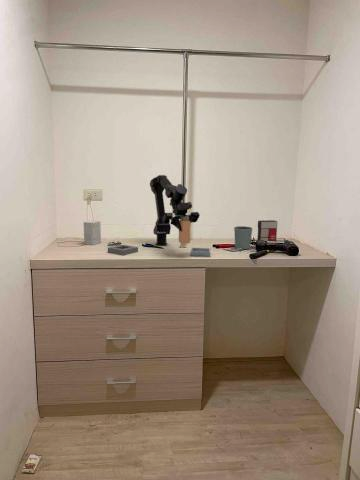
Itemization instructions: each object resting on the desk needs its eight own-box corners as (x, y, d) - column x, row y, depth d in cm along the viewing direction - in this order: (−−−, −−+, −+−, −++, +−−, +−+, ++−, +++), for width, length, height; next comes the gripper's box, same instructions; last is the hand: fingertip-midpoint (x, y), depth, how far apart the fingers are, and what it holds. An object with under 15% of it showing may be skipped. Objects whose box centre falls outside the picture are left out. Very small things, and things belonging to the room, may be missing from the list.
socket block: (122, 250, 204) (122, 244, 203) (138, 253, 197) (138, 247, 197) (107, 254, 195) (107, 247, 194) (123, 257, 188) (123, 250, 188)
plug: (178, 241, 193) (179, 216, 191) (185, 241, 195) (186, 216, 192) (182, 243, 188) (183, 217, 186) (189, 243, 190) (190, 217, 188)
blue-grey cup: (253, 247, 219) (254, 227, 217) (248, 250, 210) (249, 229, 208) (236, 245, 224) (237, 225, 221) (230, 248, 215) (231, 227, 213)
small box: (92, 242, 226) (91, 220, 224) (101, 243, 224) (100, 221, 222) (83, 244, 219) (83, 221, 217) (92, 245, 217) (92, 222, 214)
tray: (191, 252, 204) (191, 247, 203) (210, 252, 203) (210, 248, 202) (190, 256, 194) (190, 251, 193) (210, 257, 193) (210, 252, 193)
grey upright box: (259, 246, 222) (261, 221, 219) (256, 245, 226) (257, 220, 223) (276, 246, 225) (278, 221, 222) (273, 244, 229) (274, 220, 226)
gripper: (164, 196, 187) (172, 221, 179) (198, 196, 195) (207, 220, 187) (159, 210, 196) (166, 235, 188) (192, 209, 203) (200, 233, 195)
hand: (185, 230), depth 189 cm, fingers closed on plug, 4 cm apart
